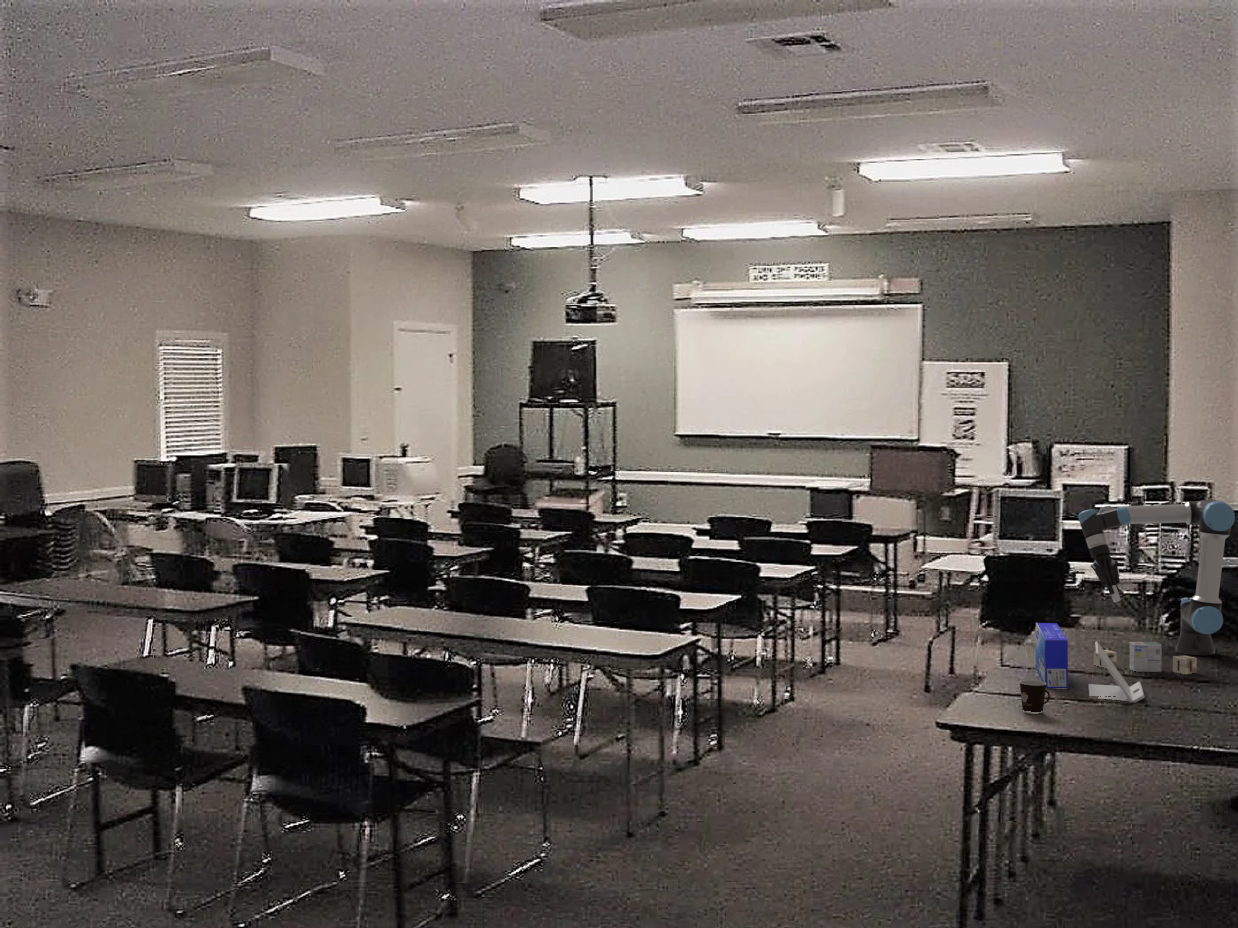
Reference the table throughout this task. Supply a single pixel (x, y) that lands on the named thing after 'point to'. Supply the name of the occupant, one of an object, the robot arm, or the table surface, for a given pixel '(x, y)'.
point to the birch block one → (1184, 664)
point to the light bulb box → (1145, 656)
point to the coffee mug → (1033, 695)
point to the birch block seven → (1110, 654)
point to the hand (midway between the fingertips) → (1117, 601)
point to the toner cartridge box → (1052, 655)
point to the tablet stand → (1121, 691)
